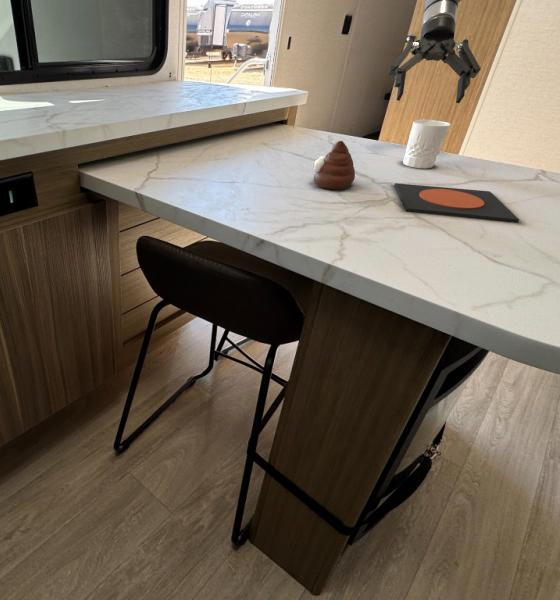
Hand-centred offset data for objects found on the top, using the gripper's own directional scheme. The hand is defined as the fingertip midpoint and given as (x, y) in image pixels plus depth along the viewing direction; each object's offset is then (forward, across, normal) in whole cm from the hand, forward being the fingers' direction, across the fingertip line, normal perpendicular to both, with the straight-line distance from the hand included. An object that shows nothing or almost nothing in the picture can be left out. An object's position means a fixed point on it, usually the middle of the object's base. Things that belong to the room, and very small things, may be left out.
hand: (429, 98), depth 104 cm
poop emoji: (+33, +21, +13) cm, 41 cm away
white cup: (+17, 0, -3) cm, 17 cm away
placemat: (+36, -1, +16) cm, 40 cm away
